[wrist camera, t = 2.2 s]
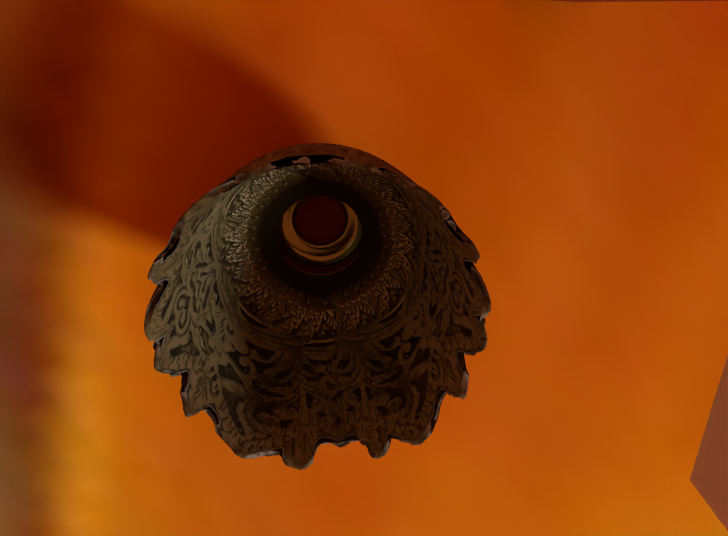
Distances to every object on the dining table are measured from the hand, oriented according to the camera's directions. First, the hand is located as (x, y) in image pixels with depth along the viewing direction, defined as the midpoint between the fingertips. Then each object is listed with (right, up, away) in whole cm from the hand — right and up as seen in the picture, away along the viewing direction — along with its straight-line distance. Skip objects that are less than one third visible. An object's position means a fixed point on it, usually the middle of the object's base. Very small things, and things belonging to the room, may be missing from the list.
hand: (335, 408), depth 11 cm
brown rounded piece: (-1, +4, +11) cm, 11 cm away
